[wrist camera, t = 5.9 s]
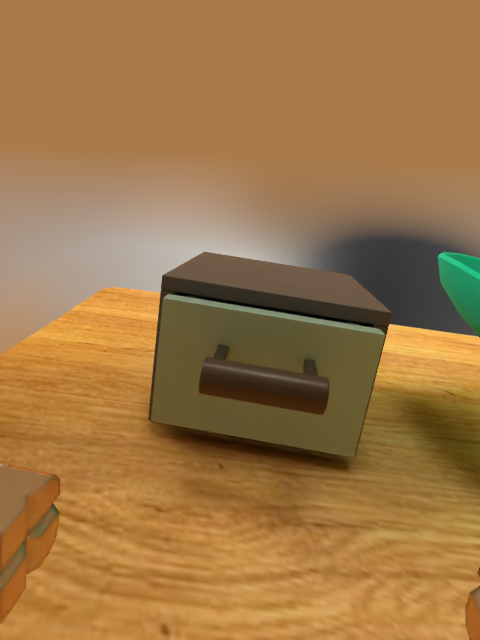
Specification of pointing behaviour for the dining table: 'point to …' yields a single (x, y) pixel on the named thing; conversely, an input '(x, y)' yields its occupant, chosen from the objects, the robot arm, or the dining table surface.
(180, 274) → the mini chest of drawers
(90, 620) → the dining table surface
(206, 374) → the drawer
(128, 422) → the dining table surface
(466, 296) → the table top decor
